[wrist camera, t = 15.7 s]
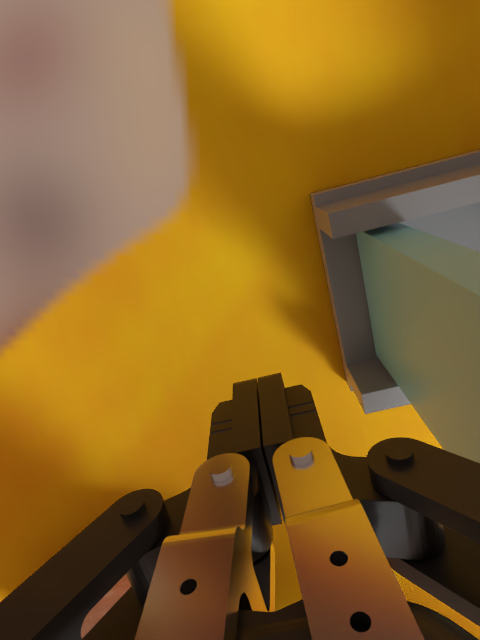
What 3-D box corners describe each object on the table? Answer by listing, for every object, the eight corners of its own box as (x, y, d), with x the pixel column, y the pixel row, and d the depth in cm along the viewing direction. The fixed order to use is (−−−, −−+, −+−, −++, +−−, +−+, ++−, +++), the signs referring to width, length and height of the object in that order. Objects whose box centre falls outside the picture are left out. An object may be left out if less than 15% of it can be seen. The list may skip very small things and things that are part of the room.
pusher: (406, 347, 22) (587, 546, 10) (376, 354, 22) (522, 559, 11) (388, 218, 20) (589, 291, 8) (354, 227, 20) (507, 311, 9)
